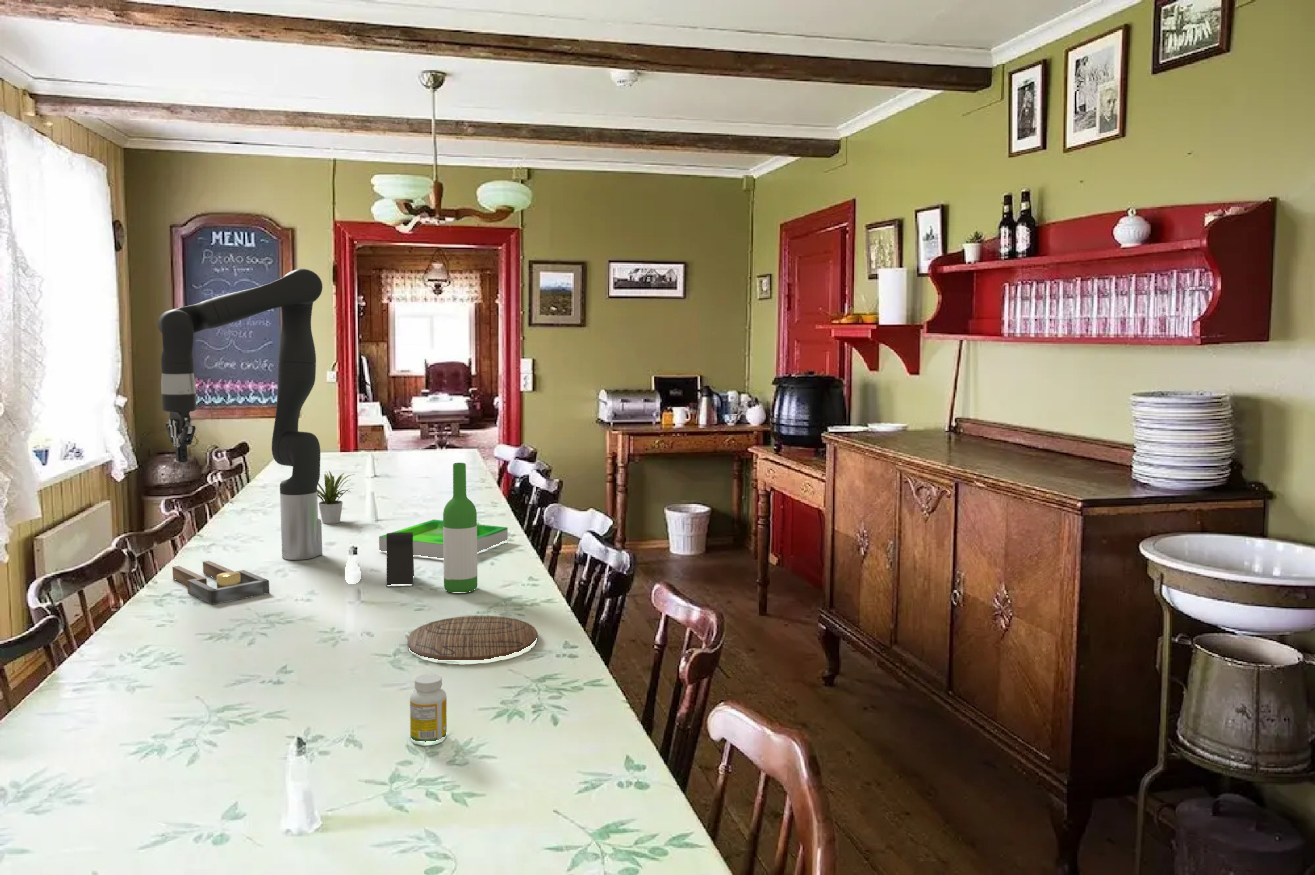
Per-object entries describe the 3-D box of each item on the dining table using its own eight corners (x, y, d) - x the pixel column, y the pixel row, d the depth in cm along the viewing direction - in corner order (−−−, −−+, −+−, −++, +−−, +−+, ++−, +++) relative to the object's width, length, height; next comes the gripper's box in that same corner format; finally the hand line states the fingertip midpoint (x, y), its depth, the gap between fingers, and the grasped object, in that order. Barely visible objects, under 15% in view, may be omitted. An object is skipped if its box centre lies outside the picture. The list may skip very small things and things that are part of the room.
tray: (379, 554, 259) (379, 536, 258) (433, 536, 282) (433, 519, 281) (458, 564, 250) (457, 545, 249) (507, 544, 273) (507, 527, 272)
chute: (218, 570, 238) (218, 559, 238) (269, 593, 219) (268, 580, 219) (163, 580, 229) (162, 568, 228) (211, 604, 210) (211, 591, 210)
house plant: (368, 521, 298) (367, 469, 296) (332, 529, 287) (330, 475, 285) (338, 515, 306) (336, 465, 304) (301, 523, 294) (299, 470, 292)
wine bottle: (469, 596, 219) (468, 466, 216) (438, 593, 221) (436, 465, 217) (482, 587, 227) (481, 461, 223) (452, 584, 229) (450, 460, 225)
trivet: (539, 664, 178) (539, 654, 178) (401, 670, 174) (401, 659, 174) (535, 622, 202) (535, 613, 202) (413, 626, 198) (413, 617, 198)
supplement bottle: (424, 750, 141) (423, 688, 139) (403, 740, 144) (402, 678, 143) (454, 739, 145) (453, 677, 144) (432, 729, 148) (431, 669, 147)
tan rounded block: (236, 589, 222) (235, 570, 222) (244, 594, 219) (243, 575, 218) (213, 593, 219) (213, 574, 218) (222, 598, 215) (221, 579, 215)
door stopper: (412, 586, 227) (411, 537, 225) (386, 587, 225) (385, 537, 224) (414, 576, 235) (413, 528, 234) (389, 577, 234) (388, 529, 233)
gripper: (205, 392, 233) (208, 463, 235) (183, 389, 242) (186, 457, 244) (173, 394, 228) (176, 466, 230) (152, 391, 236) (155, 460, 239)
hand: (181, 461), depth 237 cm, fingers closed
